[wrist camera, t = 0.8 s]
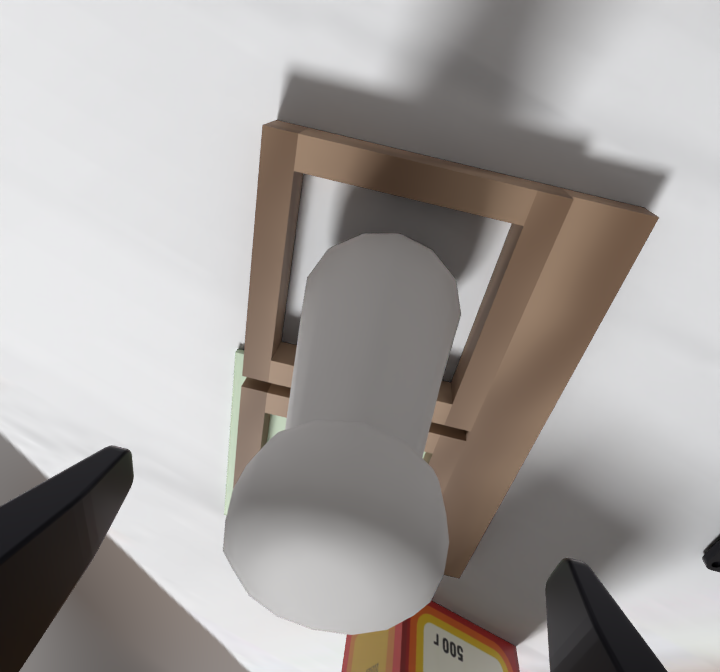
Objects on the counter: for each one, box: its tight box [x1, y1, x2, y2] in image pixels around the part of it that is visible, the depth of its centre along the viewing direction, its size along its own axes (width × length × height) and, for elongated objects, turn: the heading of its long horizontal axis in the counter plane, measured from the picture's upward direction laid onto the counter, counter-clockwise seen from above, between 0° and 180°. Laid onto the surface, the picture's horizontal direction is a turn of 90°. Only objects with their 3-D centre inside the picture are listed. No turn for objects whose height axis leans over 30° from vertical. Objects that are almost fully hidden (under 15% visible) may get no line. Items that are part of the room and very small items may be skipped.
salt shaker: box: [223, 233, 461, 635], centre depth 14 cm, size 6×6×13 cm
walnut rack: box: [233, 120, 659, 578], centre depth 21 cm, size 13×21×2 cm, turn 168°
